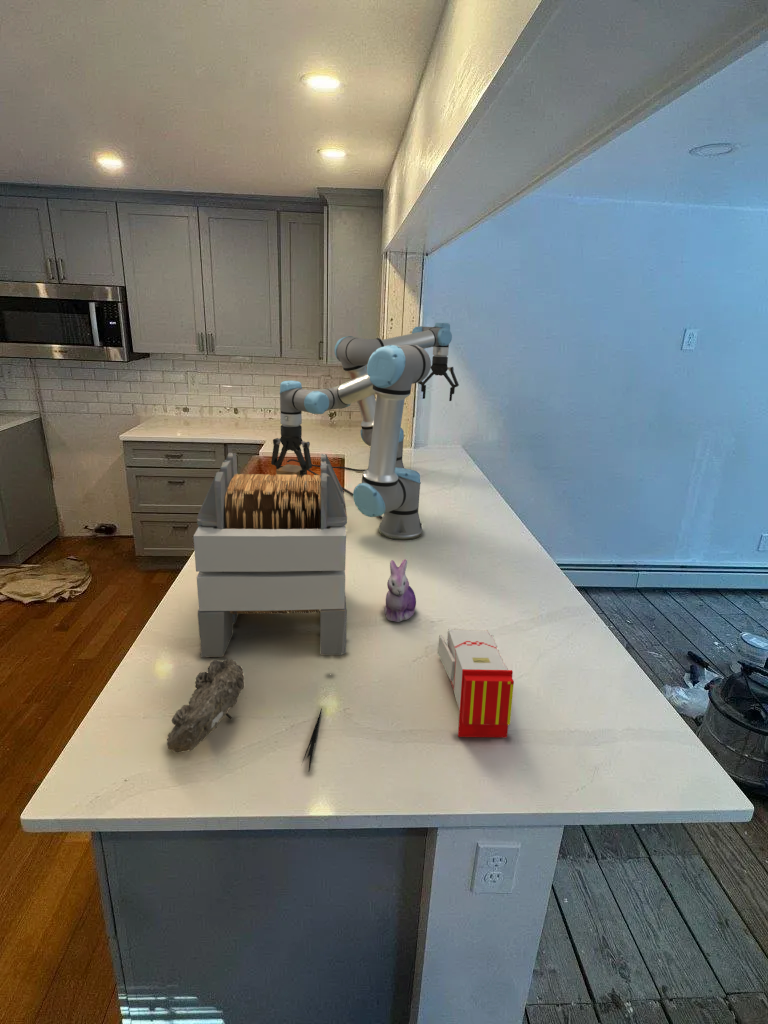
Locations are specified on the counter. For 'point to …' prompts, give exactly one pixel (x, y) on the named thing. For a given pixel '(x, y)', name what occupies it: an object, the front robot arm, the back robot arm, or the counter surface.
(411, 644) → the counter surface
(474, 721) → the toy
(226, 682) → the fossil
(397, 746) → the counter surface
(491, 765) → the counter surface
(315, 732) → the feather
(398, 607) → the figurine
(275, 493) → the record crate
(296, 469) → the block
